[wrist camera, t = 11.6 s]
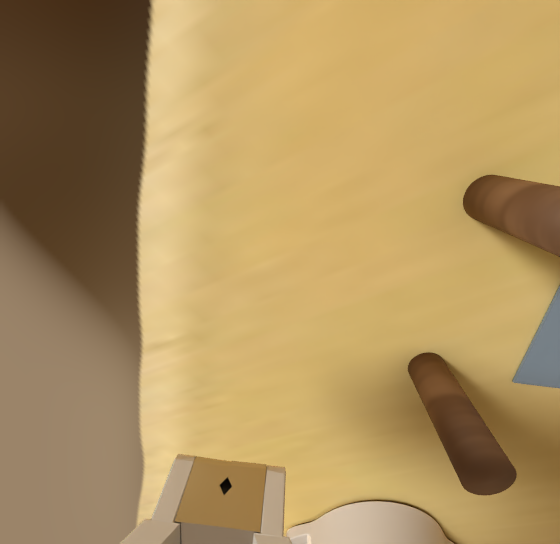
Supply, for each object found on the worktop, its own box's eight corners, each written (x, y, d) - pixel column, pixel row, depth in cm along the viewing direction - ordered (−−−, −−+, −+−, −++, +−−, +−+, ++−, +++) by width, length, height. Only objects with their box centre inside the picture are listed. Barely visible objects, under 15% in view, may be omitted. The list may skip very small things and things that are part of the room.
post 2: (499, 222, 21) (635, 276, 12) (457, 216, 21) (563, 268, 12) (517, 177, 20) (678, 205, 11) (471, 172, 20) (598, 196, 11)
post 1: (438, 383, 26) (504, 498, 18) (404, 378, 26) (453, 491, 18) (449, 355, 25) (525, 463, 16) (413, 350, 25) (471, 456, 16)
